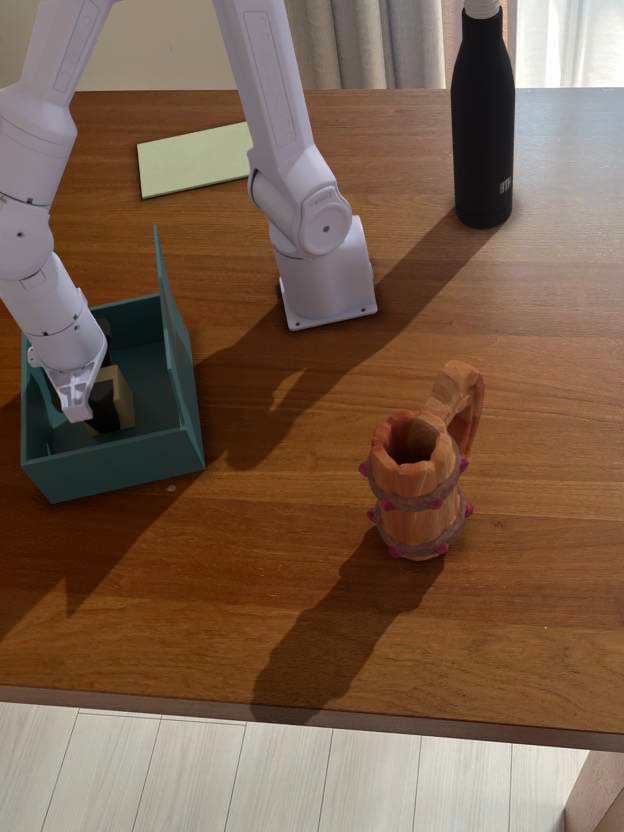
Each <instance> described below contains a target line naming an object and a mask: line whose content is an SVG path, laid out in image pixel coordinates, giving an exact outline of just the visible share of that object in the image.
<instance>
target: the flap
mask: <svg viewBox="0 0 624 832" xmlns="http://www.w3.org/2000/svg"><path fill="white" fill-rule="evenodd" d="M152 232H153V240H154V241H153V242H154V251H155V252H154V253H155V261H156V269H157V270H156V271H157V281H158V288H159V289H158V290H159V292H160V301H161V310H162V320H163V330H164V340H165V349H166V359H167V369H168V373H169V377H170V381H171V385H172V388H173V392H174V396H175V400H176V404H177V408H178V412H179V416H180V419H181V423H182V425H185V417H184V408H183V399H182V390H181V381H180V372H179V363H178V354H177V345H176V336H175V327H174V318H173V309H172V300H171V293H172V292H171V284H170V279H169V276H168V272H167V271H168V270H167V267H166V262H165V258H164V254H163V249H162V244H161V240H160V236H159V232H158V228H157V224H153V225H152Z"/></svg>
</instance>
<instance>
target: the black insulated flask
mask: <svg viewBox="0 0 624 832" xmlns="http://www.w3.org/2000/svg"><path fill="white" fill-rule="evenodd" d="M501 2H502V1H501V0H464V1H463V8H462V10H461V42H460V45H459V47H458V48H459V49H458V51H457V55H456V59H455V62H454V64H453V69H452V76H451V82H450V83H451V84H450V90H449V93H450V113H451V114H450V118H451V142H452V144H451V145H452V166H453V189H454V212H455V216H456V218H457V220H458V221H459V222H460V223H461V224H463V225H464V226H466V227H468V228H471V229H476V230H489V229H494V228H497V227H499V226H501V225H502V224H504V223H506V221H508V219H509V218H510V217H511V214H512V212H513V196H514V165H515V164H514V163H515V162H514V158H515V129H516V128H515V127H516V126H515V125H516V124H515V123H516V122H515V121H516V86H515V85H516V84H515V77H514V72H513V66H512V62H511V57H510V55H509V52H508V49H507V46H506V44H505V40H504V38H503V36H504V35H503V34H504V33H503V32H504V29H503V28H504V9H503V7H502V5H501Z"/></svg>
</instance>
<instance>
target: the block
mask: <svg viewBox="0 0 624 832" xmlns="http://www.w3.org/2000/svg"><path fill="white" fill-rule="evenodd" d="M110 379H113V385H114V398H113V402H114V405H115V408H116V410H117V413H118V416H119V420H120V430H121V429H126V428H130V427H135V419H134V405H133V393H132V391H131V389H130V387H129V386H128V384H127V382H126V380H125V378H124V377H123V375H122V373H121V371H120V369H119V368H118V366H117V365H113V366H108V367H104V368H100V369H99V372H98V374H97V377H96V379H95V383H96V382H100V381H105V380H110ZM82 422H83V424H84V425H85V427H86V428H87V430H88V431H89V433H90V434H91V436H94V435H98V434H100V433H99V432H97V431H96V430H95V429H93V428H92V427H91V426H89V425H88V424H87V423H85V422H84V421H82Z"/></svg>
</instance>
